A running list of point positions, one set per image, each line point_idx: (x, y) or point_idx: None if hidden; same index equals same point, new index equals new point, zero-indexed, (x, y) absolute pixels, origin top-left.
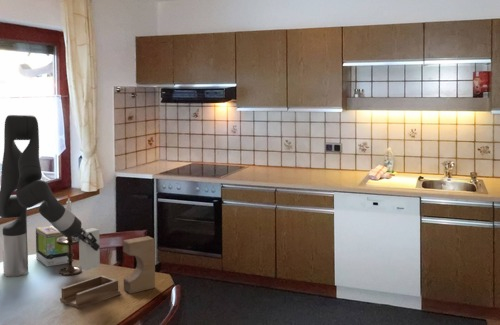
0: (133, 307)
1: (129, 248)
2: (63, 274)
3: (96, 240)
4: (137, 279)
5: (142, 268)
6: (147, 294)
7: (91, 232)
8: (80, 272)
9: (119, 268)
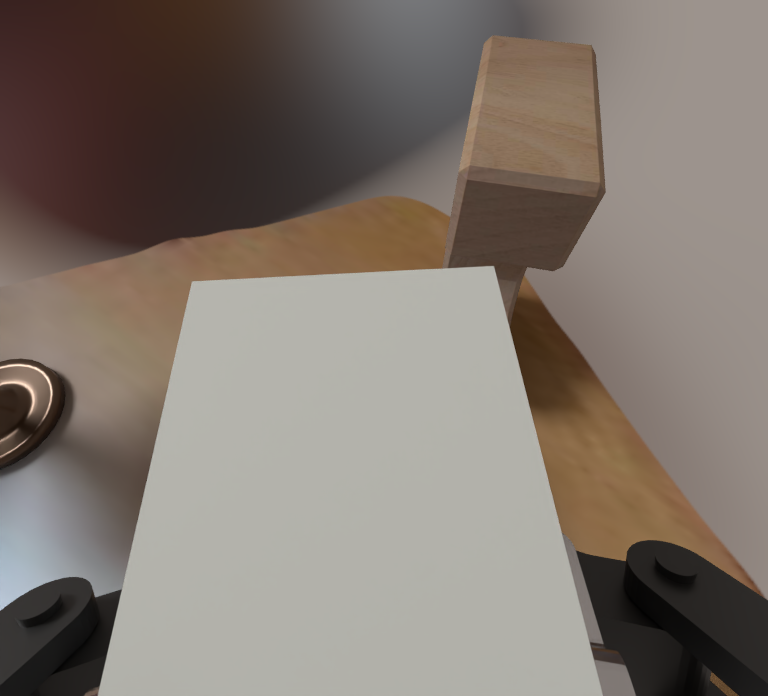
0: (652, 489)
1: (580, 228)
2: None
3: (707, 572)
4: None
5: (521, 271)
6: (540, 351)
7: (553, 562)
8: (62, 388)
9: (195, 253)
